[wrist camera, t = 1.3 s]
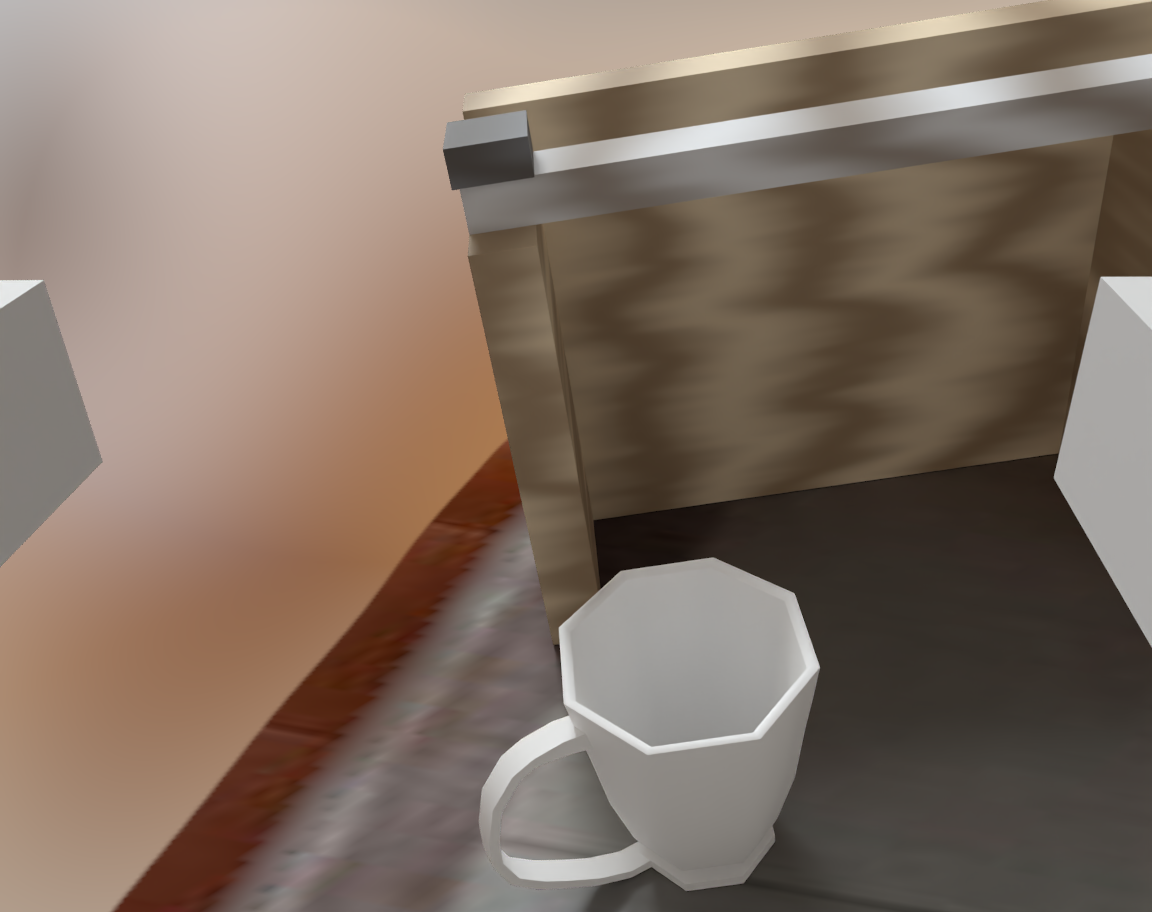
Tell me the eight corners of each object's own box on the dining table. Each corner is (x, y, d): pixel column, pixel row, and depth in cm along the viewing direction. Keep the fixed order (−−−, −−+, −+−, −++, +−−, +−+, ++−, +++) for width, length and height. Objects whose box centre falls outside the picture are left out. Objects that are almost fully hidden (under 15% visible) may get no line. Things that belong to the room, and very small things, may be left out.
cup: (870, 861, 29) (880, 674, 25) (564, 1041, 27) (509, 867, 22) (736, 701, 35) (723, 522, 30) (469, 837, 32) (409, 662, 27)
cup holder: (1089, 419, 45) (1176, -43, 34) (1202, 554, 37) (1361, 20, 26) (541, 499, 45) (454, 74, 35) (548, 645, 38) (440, 165, 27)
